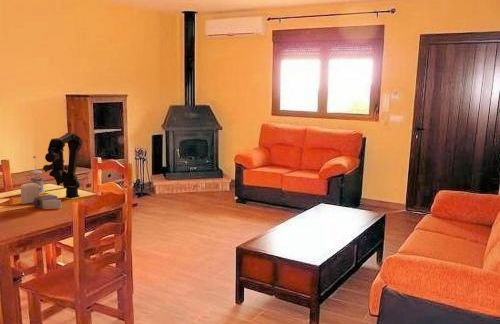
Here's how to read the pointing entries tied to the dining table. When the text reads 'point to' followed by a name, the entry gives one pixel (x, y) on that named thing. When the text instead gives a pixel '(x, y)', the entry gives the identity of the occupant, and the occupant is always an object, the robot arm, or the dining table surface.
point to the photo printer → (29, 192)
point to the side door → (51, 204)
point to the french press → (37, 179)
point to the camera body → (38, 200)
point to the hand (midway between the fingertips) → (59, 184)
